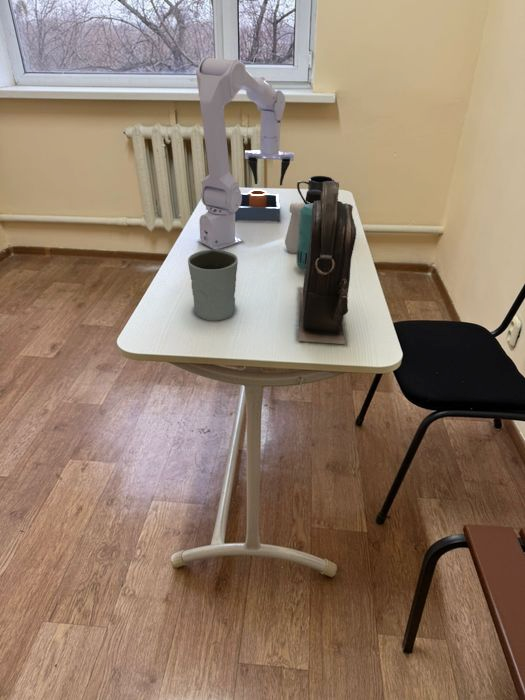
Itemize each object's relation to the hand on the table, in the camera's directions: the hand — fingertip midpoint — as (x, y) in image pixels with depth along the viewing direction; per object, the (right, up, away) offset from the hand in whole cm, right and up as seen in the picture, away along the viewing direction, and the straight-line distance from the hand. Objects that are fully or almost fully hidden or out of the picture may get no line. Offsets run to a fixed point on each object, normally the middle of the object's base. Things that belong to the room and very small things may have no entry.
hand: (268, 183), depth 145 cm
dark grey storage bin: (-3, -7, +7) cm, 11 cm away
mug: (+15, -4, +13) cm, 20 cm away
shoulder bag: (+11, -43, -42) cm, 62 cm away
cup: (-3, -7, +7) cm, 10 cm away
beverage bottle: (+10, -31, -25) cm, 41 cm away
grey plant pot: (-12, -42, -42) cm, 61 cm away
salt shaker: (+7, -24, -15) cm, 29 cm away
